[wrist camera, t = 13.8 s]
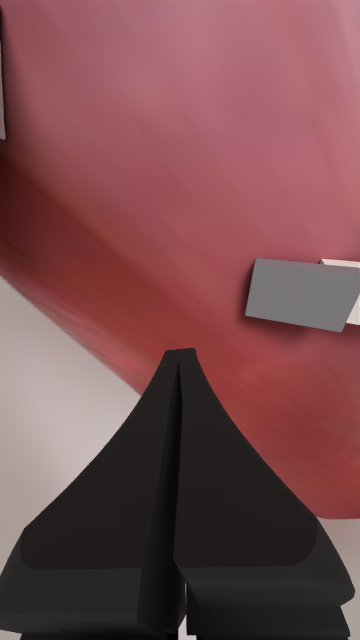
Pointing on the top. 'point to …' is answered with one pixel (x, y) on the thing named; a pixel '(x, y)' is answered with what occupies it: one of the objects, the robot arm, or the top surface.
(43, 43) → the top surface
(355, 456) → the top surface
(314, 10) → the top surface
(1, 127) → the skincare box
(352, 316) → the ivory domino
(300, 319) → the charcoal domino
